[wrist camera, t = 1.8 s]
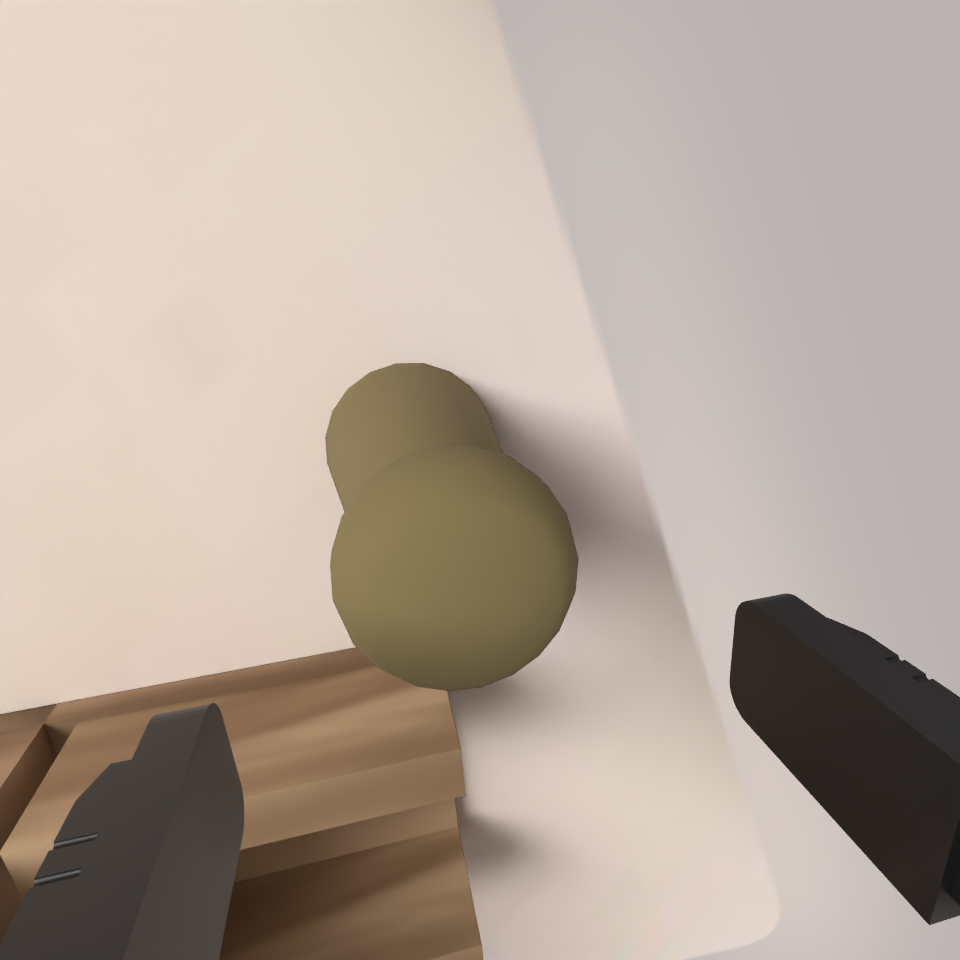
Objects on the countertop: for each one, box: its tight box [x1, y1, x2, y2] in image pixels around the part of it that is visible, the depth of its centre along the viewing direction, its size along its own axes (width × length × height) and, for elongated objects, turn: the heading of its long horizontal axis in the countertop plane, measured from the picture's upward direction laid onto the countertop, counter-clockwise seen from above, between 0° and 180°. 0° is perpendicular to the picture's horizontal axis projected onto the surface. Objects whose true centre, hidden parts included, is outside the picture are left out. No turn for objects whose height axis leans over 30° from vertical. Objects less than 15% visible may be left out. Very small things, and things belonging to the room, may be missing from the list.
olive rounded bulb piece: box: [326, 363, 578, 691], centre depth 16 cm, size 6×6×11 cm
